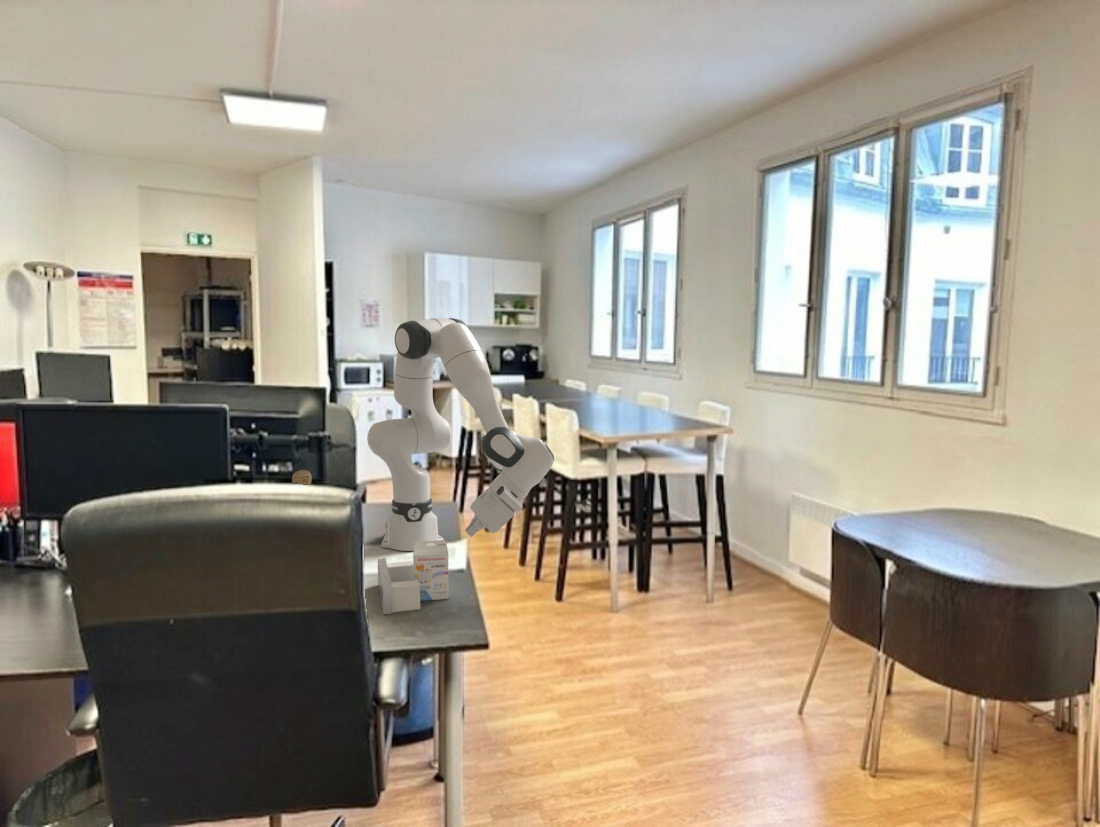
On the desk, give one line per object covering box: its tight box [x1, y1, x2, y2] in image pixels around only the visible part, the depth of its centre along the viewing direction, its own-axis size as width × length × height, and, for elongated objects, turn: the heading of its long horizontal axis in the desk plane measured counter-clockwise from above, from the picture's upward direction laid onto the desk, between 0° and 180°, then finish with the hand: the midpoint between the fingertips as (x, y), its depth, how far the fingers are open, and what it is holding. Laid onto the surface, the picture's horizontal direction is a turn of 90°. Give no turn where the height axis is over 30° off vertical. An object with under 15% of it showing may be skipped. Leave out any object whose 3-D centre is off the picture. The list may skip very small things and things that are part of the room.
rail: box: [377, 557, 393, 615], centre depth 178 cm, size 20×2×7 cm, turn 17°
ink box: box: [412, 539, 450, 602], centre depth 180 cm, size 9×8×13 cm
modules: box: [386, 560, 421, 613], centre depth 179 cm, size 18×7×6 cm, turn 17°
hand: (467, 533), depth 182 cm, fingers closed
